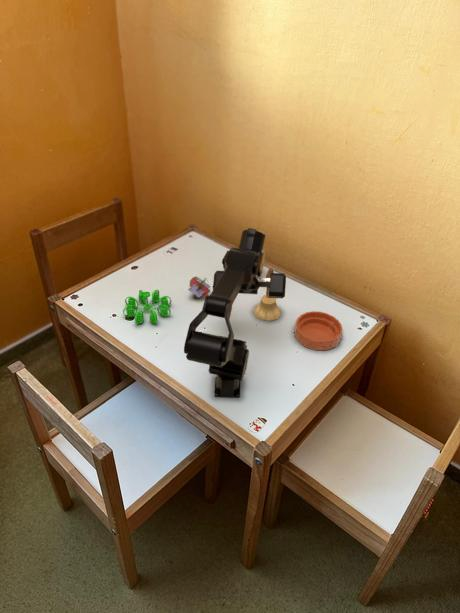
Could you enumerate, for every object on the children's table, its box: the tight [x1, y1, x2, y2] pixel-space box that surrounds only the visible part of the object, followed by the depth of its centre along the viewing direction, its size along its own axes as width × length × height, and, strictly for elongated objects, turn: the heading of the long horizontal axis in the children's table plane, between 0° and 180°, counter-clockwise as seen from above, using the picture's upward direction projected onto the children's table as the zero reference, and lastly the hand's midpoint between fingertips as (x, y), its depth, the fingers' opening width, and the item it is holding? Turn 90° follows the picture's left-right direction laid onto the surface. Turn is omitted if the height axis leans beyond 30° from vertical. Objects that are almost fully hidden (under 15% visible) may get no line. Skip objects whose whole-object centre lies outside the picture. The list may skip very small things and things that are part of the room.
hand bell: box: [253, 267, 282, 322], centre depth 139 cm, size 8×8×16 cm
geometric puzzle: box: [187, 276, 211, 299], centre depth 148 cm, size 7×7×8 cm
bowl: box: [294, 310, 343, 351], centre depth 136 cm, size 13×13×4 cm
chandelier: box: [122, 289, 172, 325], centre depth 141 cm, size 15×15×7 cm
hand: (252, 292), depth 130 cm, fingers open, 9 cm apart
